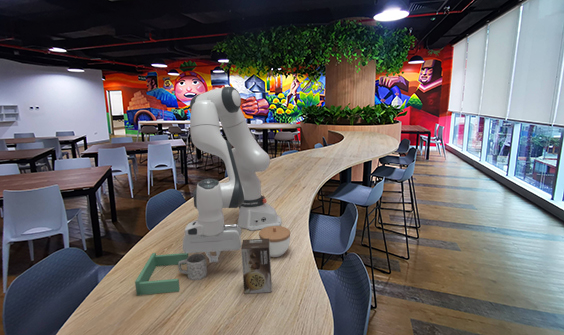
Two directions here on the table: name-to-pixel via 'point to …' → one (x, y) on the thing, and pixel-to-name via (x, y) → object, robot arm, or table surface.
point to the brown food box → (256, 265)
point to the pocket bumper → (160, 285)
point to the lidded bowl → (276, 239)
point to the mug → (194, 266)
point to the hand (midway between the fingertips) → (213, 261)
